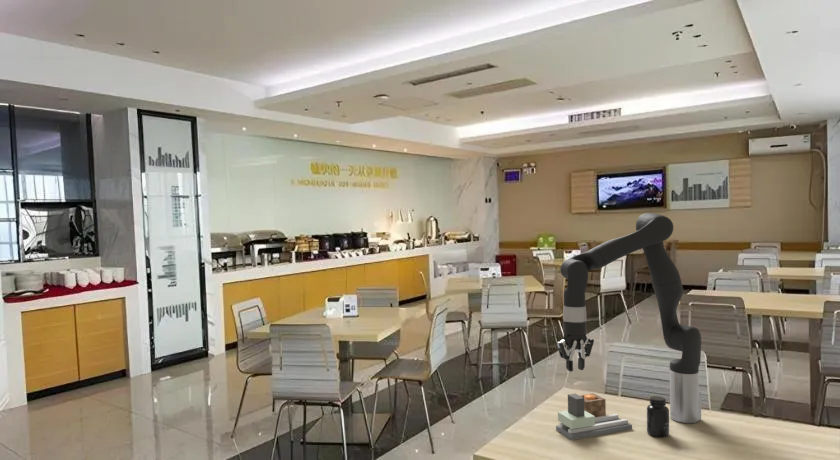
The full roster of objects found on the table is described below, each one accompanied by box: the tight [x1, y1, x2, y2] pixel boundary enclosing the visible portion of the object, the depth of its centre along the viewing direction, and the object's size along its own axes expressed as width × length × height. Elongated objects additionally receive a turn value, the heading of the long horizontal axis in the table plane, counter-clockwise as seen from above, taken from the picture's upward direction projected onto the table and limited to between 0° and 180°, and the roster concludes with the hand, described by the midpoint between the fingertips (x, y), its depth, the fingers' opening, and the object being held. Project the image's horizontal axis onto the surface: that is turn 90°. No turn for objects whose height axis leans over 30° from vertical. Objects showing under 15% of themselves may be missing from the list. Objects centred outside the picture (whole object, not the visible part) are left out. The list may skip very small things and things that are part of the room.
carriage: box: [557, 393, 595, 429], centre depth 184 cm, size 9×8×9 cm
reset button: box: [583, 393, 595, 400], centre depth 196 cm, size 4×4×4 cm
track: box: [555, 413, 633, 441], centre depth 186 cm, size 24×9×3 cm, turn 109°
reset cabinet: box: [578, 392, 607, 417], centre depth 196 cm, size 9×7×8 cm
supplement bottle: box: [646, 395, 670, 438], centre depth 181 cm, size 7×7×12 cm
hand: (575, 369), depth 184 cm, fingers open, 3 cm apart
